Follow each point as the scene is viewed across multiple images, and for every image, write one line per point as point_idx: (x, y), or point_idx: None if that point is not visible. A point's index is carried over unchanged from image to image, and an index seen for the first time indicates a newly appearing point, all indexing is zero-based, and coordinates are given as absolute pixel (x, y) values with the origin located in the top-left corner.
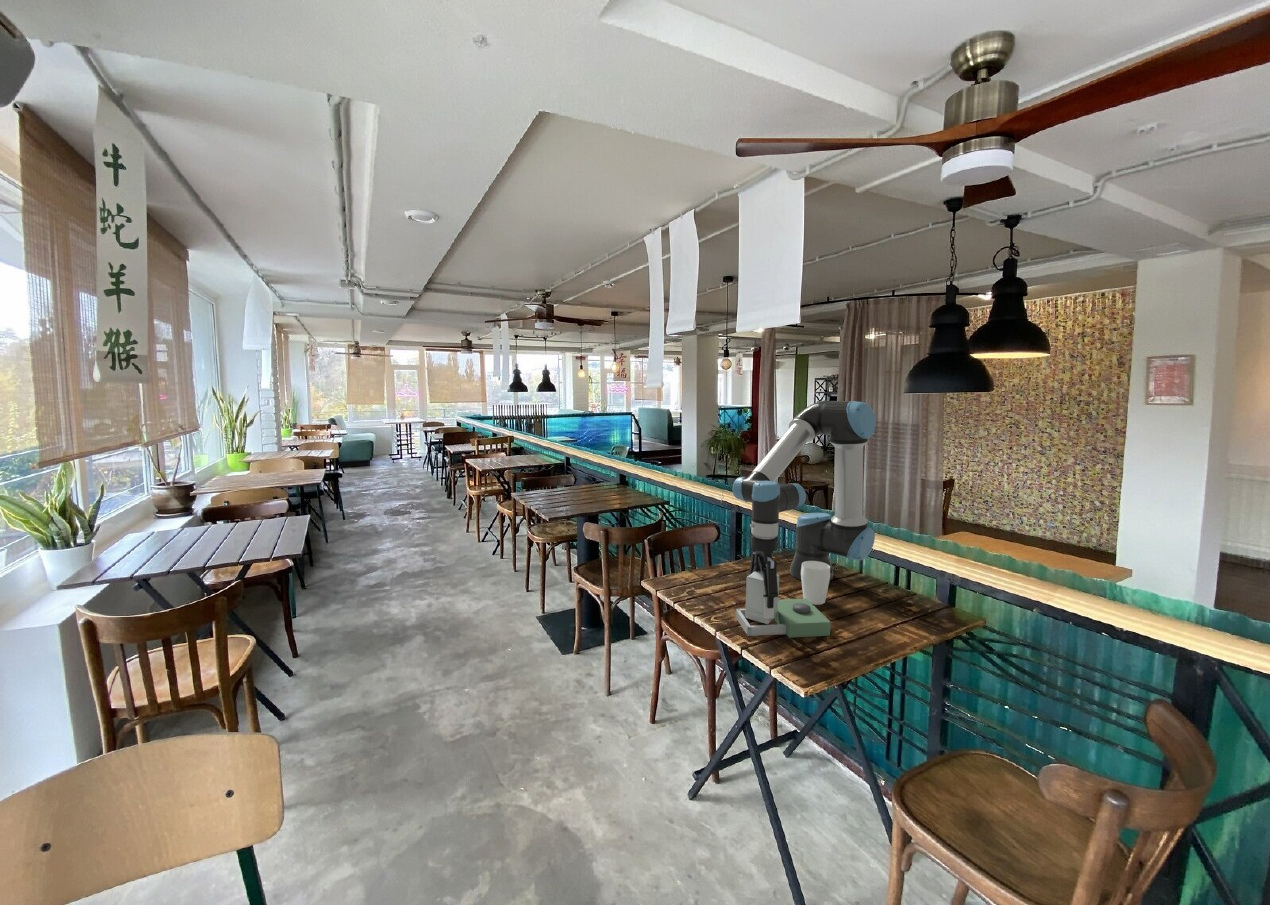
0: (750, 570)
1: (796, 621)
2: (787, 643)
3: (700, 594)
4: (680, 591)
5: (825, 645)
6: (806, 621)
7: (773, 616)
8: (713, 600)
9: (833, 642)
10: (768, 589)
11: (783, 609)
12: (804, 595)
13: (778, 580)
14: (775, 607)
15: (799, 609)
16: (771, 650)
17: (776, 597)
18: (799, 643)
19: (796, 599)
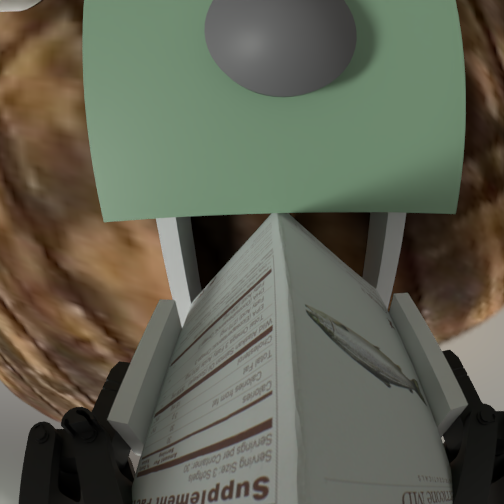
0: (74, 493)
1: (441, 155)
2: (454, 215)
3: (56, 372)
4: (61, 400)
5: (486, 70)
6: (448, 93)
7: (410, 299)
8: (79, 359)
9: (466, 22)
10: (494, 480)
11: (258, 165)
12: (19, 1)
13: (340, 470)
14: (331, 270)
15: (342, 68)
16: (467, 288)
17: (339, 314)
18: (465, 166)
19: (90, 31)
